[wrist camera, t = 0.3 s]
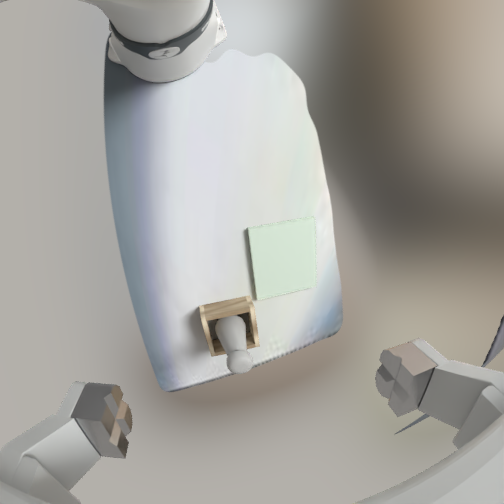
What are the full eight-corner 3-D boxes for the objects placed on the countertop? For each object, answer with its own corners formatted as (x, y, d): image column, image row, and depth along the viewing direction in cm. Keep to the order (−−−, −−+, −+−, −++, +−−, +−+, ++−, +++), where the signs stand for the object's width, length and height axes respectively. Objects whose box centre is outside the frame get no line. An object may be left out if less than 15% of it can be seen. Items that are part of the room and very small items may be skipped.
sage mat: (247, 227, 47) (248, 229, 46) (312, 216, 49) (315, 217, 48) (256, 297, 52) (257, 300, 52) (314, 283, 54) (316, 286, 54)
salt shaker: (208, 316, 52) (216, 364, 40) (235, 303, 52) (250, 349, 40) (222, 336, 54) (233, 383, 43) (247, 324, 55) (264, 369, 43)
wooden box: (199, 305, 50) (200, 318, 47) (249, 295, 52) (254, 307, 48) (209, 343, 54) (211, 356, 51) (254, 333, 56) (259, 346, 52)
